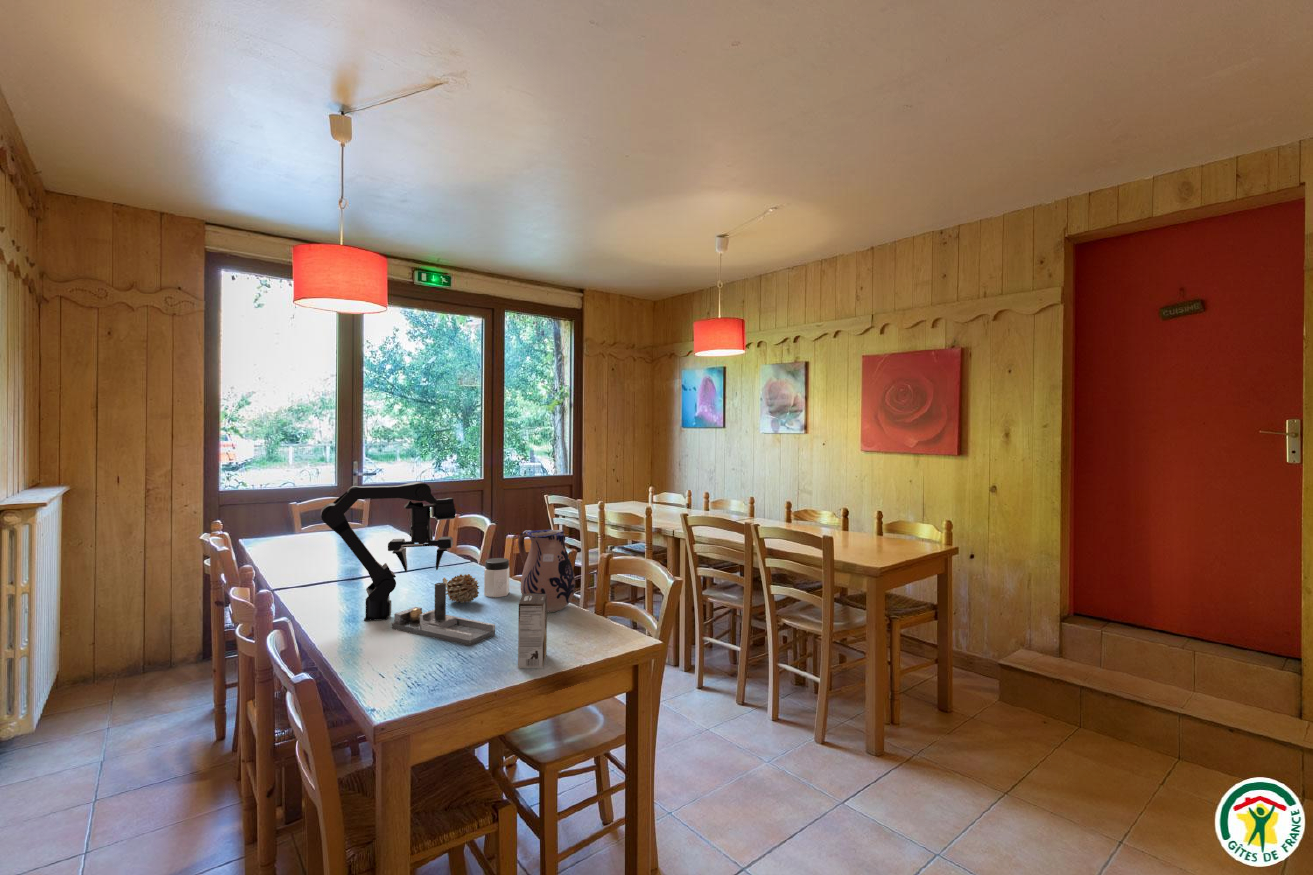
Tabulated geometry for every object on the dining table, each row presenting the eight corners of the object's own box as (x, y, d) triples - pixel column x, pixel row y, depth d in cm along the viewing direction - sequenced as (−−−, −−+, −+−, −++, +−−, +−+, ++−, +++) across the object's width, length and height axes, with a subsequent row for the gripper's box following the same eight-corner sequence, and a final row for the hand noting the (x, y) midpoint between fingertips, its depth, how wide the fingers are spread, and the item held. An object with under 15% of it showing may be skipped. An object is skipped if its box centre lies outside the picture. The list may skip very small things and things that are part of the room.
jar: (488, 598, 209) (488, 563, 209) (480, 593, 216) (480, 559, 215) (513, 595, 214) (513, 561, 214) (505, 589, 221) (505, 556, 220)
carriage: (419, 626, 174) (420, 584, 174) (438, 619, 180) (438, 579, 180) (438, 630, 171) (438, 588, 171) (456, 623, 177) (457, 582, 177)
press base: (391, 628, 177) (391, 610, 177) (418, 618, 186) (418, 602, 186) (469, 646, 164) (469, 627, 164) (495, 634, 173) (495, 617, 173)
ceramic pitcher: (558, 620, 187) (559, 538, 187) (499, 612, 194) (500, 533, 194) (584, 604, 203) (585, 529, 203) (529, 597, 211) (530, 525, 210)
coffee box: (521, 654, 158) (522, 592, 158) (547, 654, 159) (547, 592, 158) (516, 668, 149) (517, 603, 149) (543, 668, 150) (544, 602, 149)
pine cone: (487, 604, 202) (487, 574, 202) (461, 610, 195) (461, 579, 195) (452, 592, 217) (452, 564, 217) (426, 597, 209) (426, 568, 209)
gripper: (455, 516, 202) (455, 563, 203) (395, 518, 199) (396, 566, 199) (450, 522, 192) (451, 571, 192) (386, 524, 188) (388, 574, 188)
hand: (421, 570), depth 193 cm, fingers open, 9 cm apart
